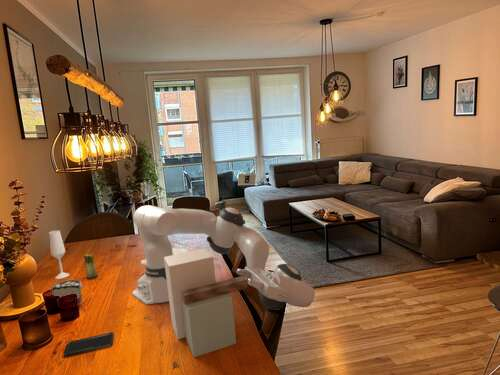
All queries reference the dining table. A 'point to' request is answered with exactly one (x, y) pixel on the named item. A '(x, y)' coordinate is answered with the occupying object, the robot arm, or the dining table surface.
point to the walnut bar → (213, 290)
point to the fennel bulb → (90, 266)
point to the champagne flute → (57, 250)
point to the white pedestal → (186, 281)
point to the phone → (89, 344)
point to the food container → (68, 289)
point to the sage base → (209, 324)
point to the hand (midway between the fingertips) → (242, 276)
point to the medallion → (175, 251)
